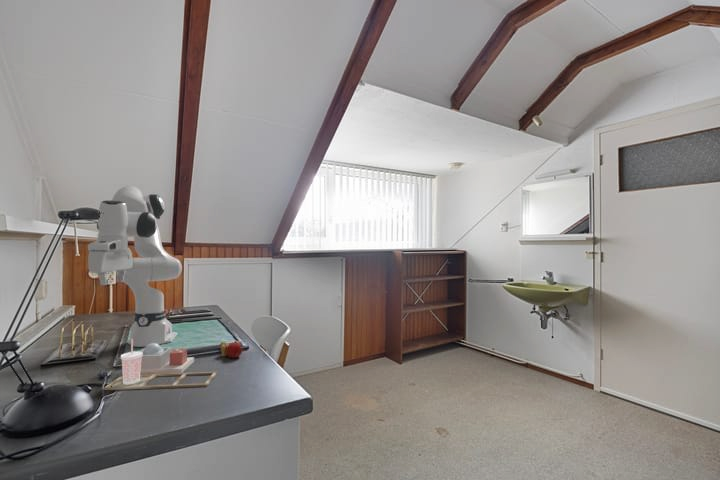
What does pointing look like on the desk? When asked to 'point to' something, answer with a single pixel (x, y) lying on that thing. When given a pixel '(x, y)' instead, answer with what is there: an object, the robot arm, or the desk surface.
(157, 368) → the dome housing
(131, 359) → the beverage cup
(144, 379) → the wooden window frame
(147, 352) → the dome
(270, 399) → the desk surface
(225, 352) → the kendama
